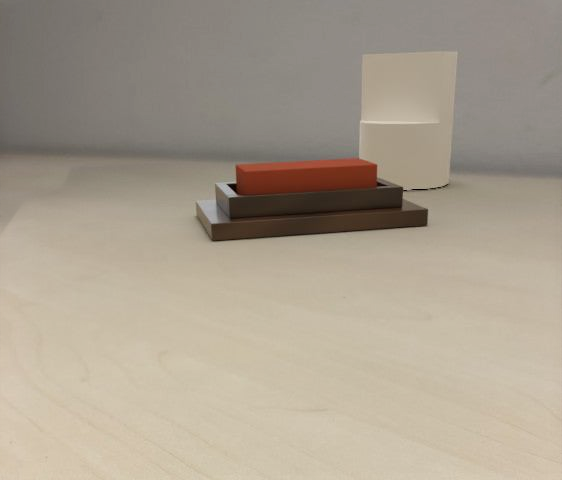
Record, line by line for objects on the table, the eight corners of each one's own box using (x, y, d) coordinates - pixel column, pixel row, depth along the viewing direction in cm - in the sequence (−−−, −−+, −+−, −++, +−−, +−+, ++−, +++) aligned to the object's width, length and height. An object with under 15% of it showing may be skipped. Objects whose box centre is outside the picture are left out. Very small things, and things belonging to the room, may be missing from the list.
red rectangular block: (247, 213, 51) (245, 171, 50) (237, 203, 55) (235, 164, 54) (376, 205, 53) (377, 164, 52) (358, 196, 57) (358, 157, 56)
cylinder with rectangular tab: (463, 180, 72) (473, 51, 67) (424, 193, 65) (432, 50, 60) (385, 175, 77) (390, 54, 72) (341, 186, 70) (343, 54, 65)
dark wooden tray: (212, 241, 49) (209, 201, 48) (196, 215, 58) (194, 181, 57) (427, 225, 52) (429, 188, 51) (381, 203, 61) (382, 171, 60)
